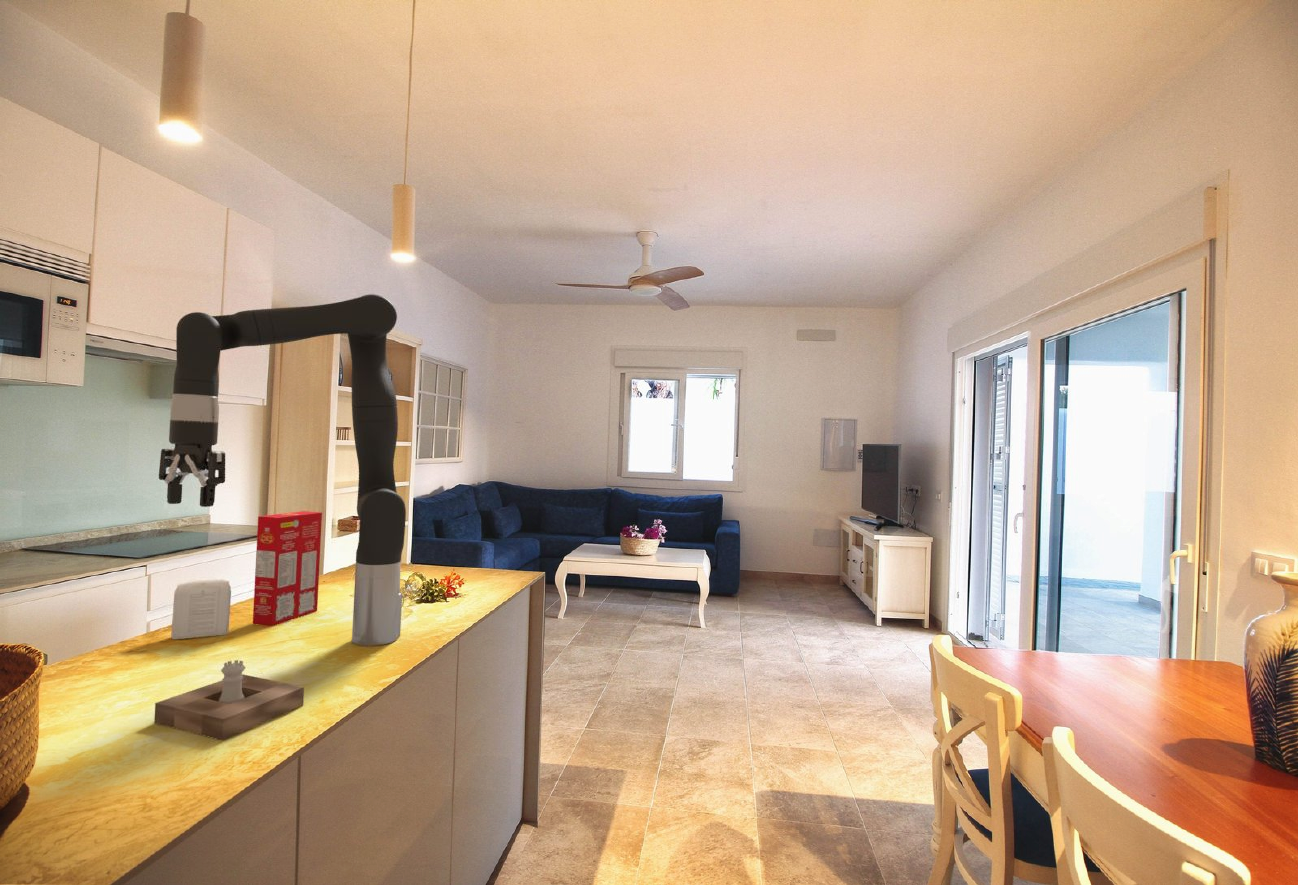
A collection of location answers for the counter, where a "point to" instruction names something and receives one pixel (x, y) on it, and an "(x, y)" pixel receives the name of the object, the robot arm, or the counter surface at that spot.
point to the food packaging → (287, 567)
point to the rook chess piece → (232, 682)
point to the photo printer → (201, 608)
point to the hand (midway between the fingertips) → (190, 505)
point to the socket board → (228, 707)
